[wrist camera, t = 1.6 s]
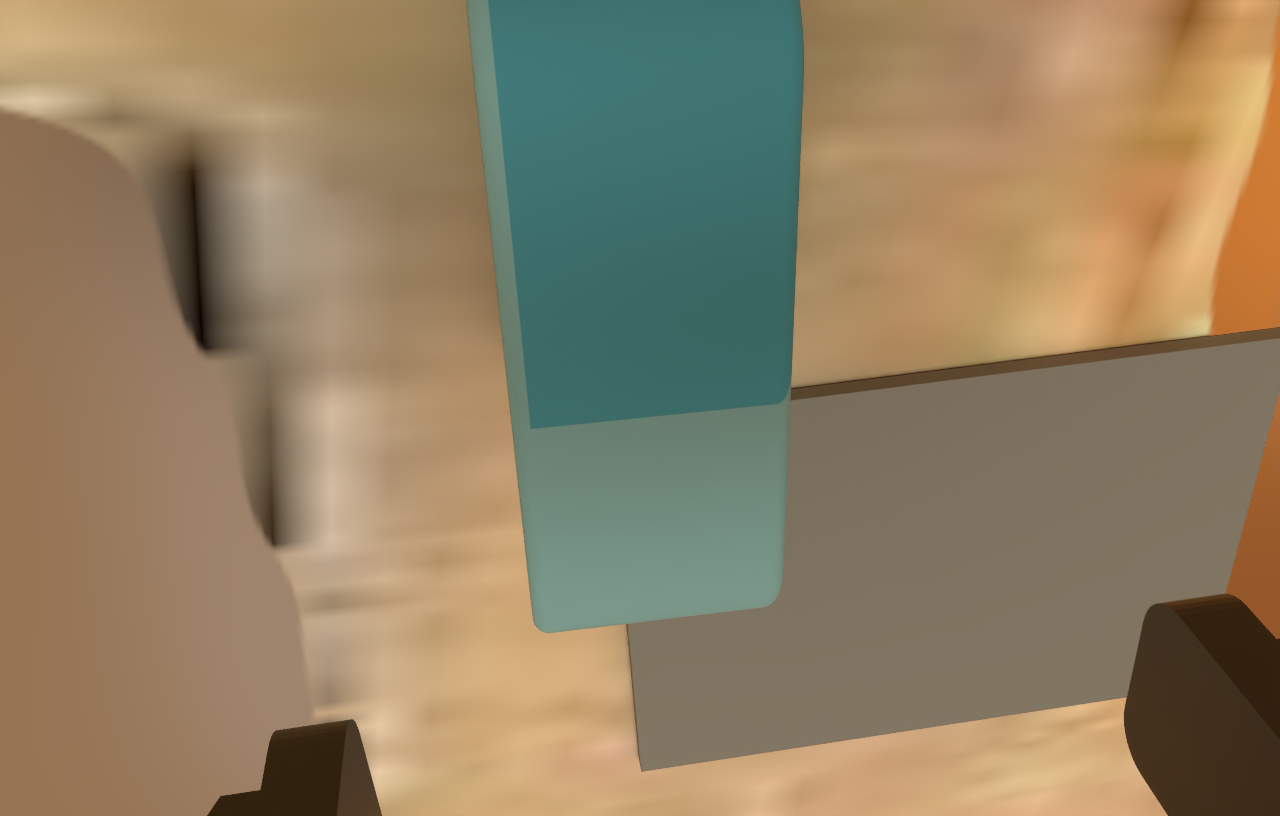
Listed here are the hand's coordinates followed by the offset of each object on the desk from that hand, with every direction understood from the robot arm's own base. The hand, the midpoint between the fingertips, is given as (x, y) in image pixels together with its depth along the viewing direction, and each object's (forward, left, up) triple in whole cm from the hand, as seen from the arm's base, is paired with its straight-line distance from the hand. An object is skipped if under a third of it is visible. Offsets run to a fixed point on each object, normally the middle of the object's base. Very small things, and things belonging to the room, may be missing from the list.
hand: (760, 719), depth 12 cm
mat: (+15, +10, -19) cm, 26 cm away
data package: (0, 0, -19) cm, 19 cm away
